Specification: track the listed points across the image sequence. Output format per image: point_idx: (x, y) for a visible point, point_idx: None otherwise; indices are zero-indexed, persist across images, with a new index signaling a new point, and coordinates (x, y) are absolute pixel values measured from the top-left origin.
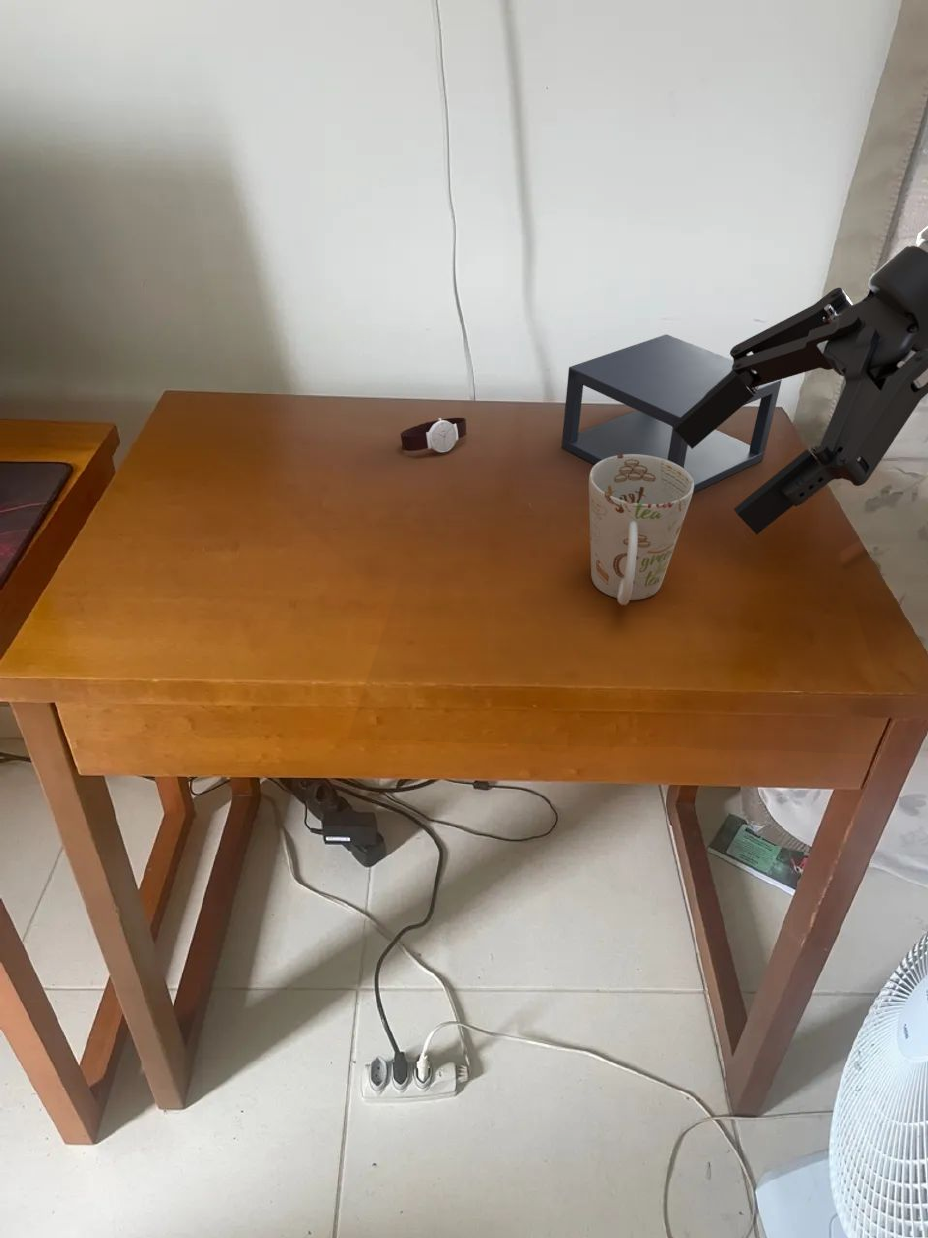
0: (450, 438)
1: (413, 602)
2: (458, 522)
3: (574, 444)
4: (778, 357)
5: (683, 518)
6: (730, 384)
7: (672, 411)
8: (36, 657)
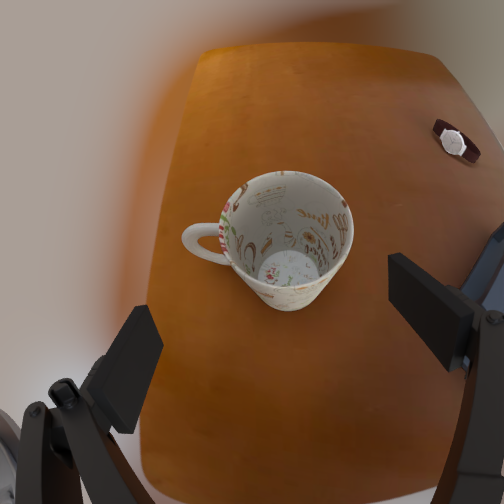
0: (455, 148)
1: (248, 140)
2: (357, 157)
3: (492, 240)
4: (472, 398)
5: (257, 290)
6: (446, 312)
7: (495, 289)
8: (209, 52)
